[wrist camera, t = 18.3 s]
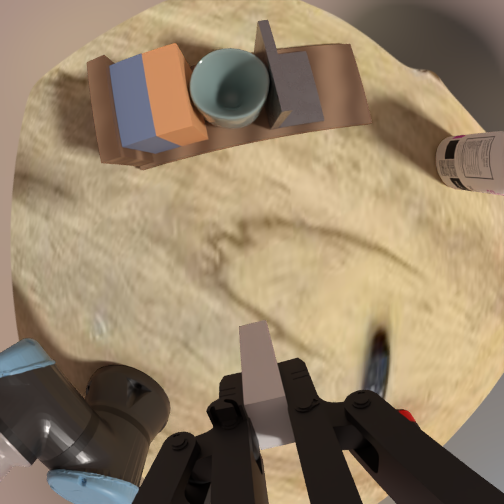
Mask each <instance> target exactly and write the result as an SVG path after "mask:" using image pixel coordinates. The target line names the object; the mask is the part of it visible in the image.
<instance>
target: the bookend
mask: <svg viewBox="0 0 504 504" xmlns="http://www.w3.org/2000/svg"><path fill="white" fill-rule="evenodd" d="M254 55H255V56H256V57H258V58H259V59H260V60H261V61H262V62H263V63H264V64H265V66H266V68H267V70H268V73H269V77H270V87H269V93H268V97H267V100H266V102H265V109H266V113H267V118H268V122H269V126H270V130H273V129H278V128H284V127H289V126H295V125H302V124H308V123H315V122H322V121H325V120H324V116H323V112H322V108H321V104H320V100H319V96H318V92H317V88H316V84H315V81H314V77H313V73H312V70H311V66H310V63H309V59H308V56H307V53H306V51H302V52H293V53H284V54H278V52H277V49H276V45H275V42H274V39H273V35H272V32H271V28H270V25H269V22H268V20H263V21H258V23H257V31H256V39H255V47H254Z"/></svg>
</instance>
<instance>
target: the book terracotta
mask: <svg viewBox="0 0 504 504" xmlns="http://www.w3.org/2000/svg"><path fill="white" fill-rule="evenodd" d="M142 59H143V66H144V72H145V78H146V84H147V89H148V95H149V101H150V106H151V111H152V117H153V122H154V127H155V132H156V136H157V137H160V138H162V139H165V140H167V141H170V142H172V143H175V144H177V145H180V146H185V145H188V144H192V143H196V142H200V141H204V140H208V135H207V130H206V126H205V121H204V118H203V117H202V115H201V114H200V113H199V112H198V110H197V109H196V107H195V106H194V103H193V101H192V99H191V96H190V91H189V89H190V79H191V75H192V70H191V68H190V66H189V65H188V63H187V61H186V59H185V58H184V56H183V54H182V53H181V51H180V49H179V47H178V46H177V44H176V43H173V44H170V45H167V46H164V47H160V48H157V49H154V50H151V51H148V52H145V53H143V54H142Z"/></svg>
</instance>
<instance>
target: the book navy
mask: <svg viewBox="0 0 504 504" xmlns="http://www.w3.org/2000/svg"><path fill="white" fill-rule="evenodd" d="M109 67H110V75H111V83H112V90H113V97H114V103H115V110H116V116H117V121H118V127H119V133H120V138H121V143H122V147H124V148H130V149H135V150H140V151H145V152H150V153H154V154H156V153H160V152H163V151H167V150H170V149H174V148H177V147H181V146H180V145H177V144H175V143H172V142H170V141H167V140H165V139H162V138H160V137H157V136H156V132H155V127H154V122H153V117H152V111H151V106H150V101H149V95H148V89H147V84H146V78H145V72H144V66H143V59H142V54H138V55H136V56H133V57H130V58H128V59H125V60H122V61H120V62H117V63H115V64H112V65H110V66H109Z"/></svg>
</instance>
